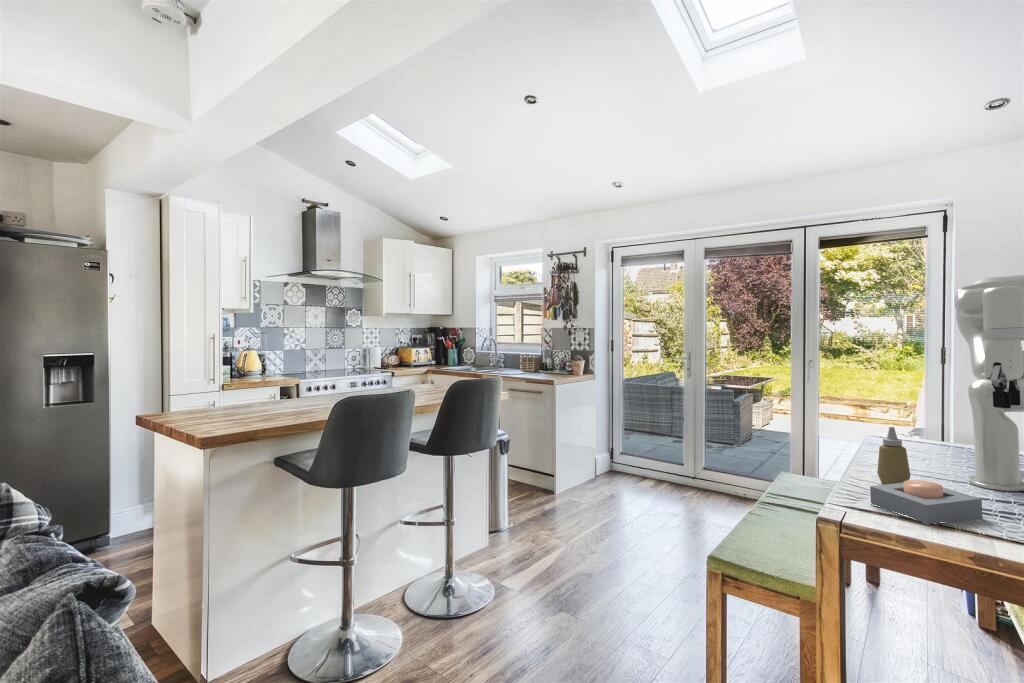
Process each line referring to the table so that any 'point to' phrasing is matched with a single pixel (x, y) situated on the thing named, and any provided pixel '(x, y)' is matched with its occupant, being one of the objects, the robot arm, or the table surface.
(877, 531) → the table surface
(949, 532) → the table surface
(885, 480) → the squeeze bottle
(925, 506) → the button base
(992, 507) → the table surface
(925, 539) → the table surface
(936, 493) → the button
